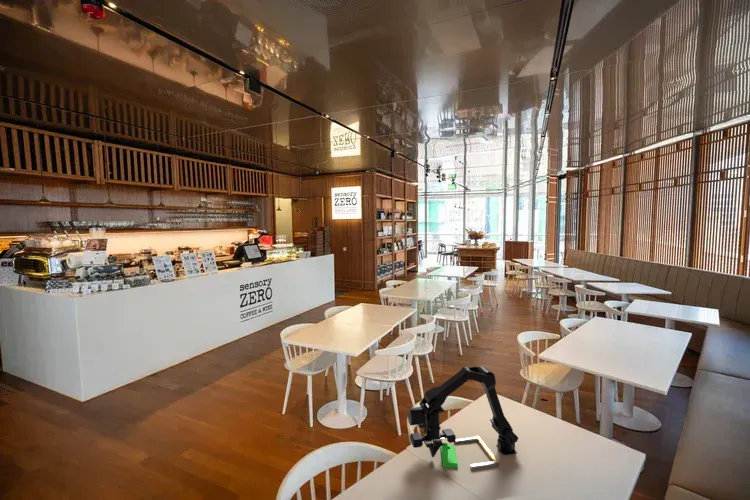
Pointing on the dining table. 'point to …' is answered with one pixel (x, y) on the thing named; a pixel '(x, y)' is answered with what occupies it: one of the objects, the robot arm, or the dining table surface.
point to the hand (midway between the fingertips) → (432, 456)
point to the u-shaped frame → (485, 448)
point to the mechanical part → (449, 455)
